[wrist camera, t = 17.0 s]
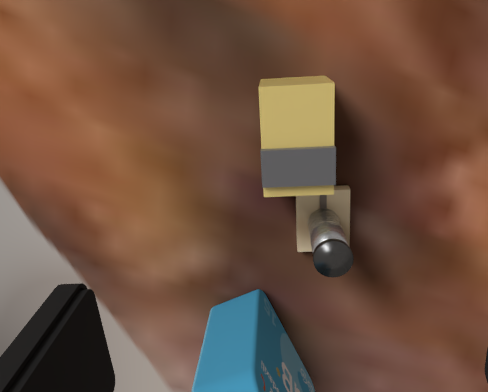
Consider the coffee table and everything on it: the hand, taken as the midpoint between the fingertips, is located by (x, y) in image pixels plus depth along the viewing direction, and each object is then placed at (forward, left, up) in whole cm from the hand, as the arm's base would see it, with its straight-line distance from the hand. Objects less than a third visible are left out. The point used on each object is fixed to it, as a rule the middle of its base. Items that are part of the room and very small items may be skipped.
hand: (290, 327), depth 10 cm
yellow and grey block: (0, +1, -24) cm, 24 cm away
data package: (+19, -2, -24) cm, 31 cm away
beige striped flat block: (+7, +3, -24) cm, 25 cm away
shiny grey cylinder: (+7, +3, -23) cm, 24 cm away
